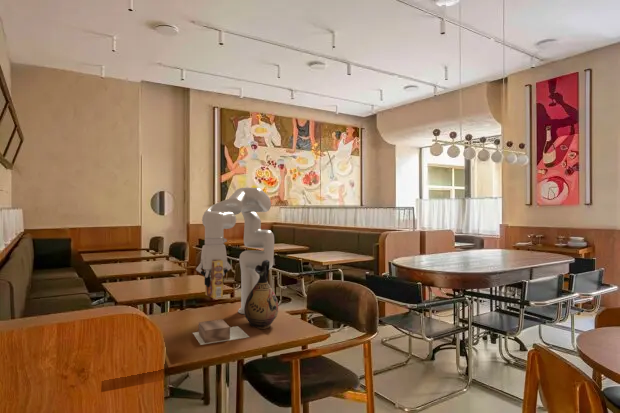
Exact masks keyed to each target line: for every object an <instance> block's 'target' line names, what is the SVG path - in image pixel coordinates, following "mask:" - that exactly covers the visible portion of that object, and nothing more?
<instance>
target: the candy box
mask: <svg viewBox="0 0 620 413" xmlns="http://www.w3.org/2000/svg"><path fill="white" fill-rule="evenodd" d="M223 270H224V269H223V260H213V261H212V269H211V270H210V271H209V274H208V277H209V287H206V285H205V284H204V285H205V289H204V290H205V296H207V297H209V298H212V299H221V298H223V296H224V289H223V288H224V283H223Z"/></svg>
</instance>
